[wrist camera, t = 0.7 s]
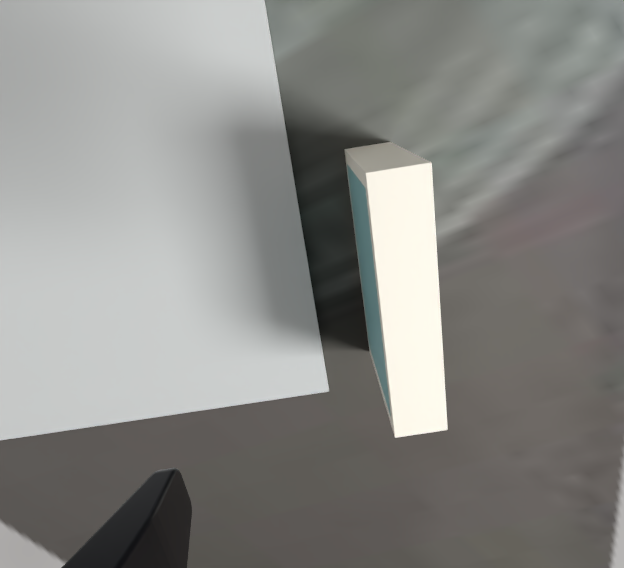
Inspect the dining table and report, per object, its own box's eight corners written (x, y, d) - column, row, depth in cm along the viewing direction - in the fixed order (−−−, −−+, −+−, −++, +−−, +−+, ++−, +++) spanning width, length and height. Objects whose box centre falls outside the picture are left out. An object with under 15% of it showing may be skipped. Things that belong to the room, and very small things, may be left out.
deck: (408, 344, 22) (447, 430, 16) (369, 350, 22) (394, 437, 17) (390, 141, 19) (431, 162, 13) (343, 149, 19) (365, 173, 13)
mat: (328, 386, 23) (329, 391, 22) (-6, 436, 23) (-11, 441, 23) (240, -149, 15) (238, -155, 15) (-249, -62, 16) (-262, -66, 15)
